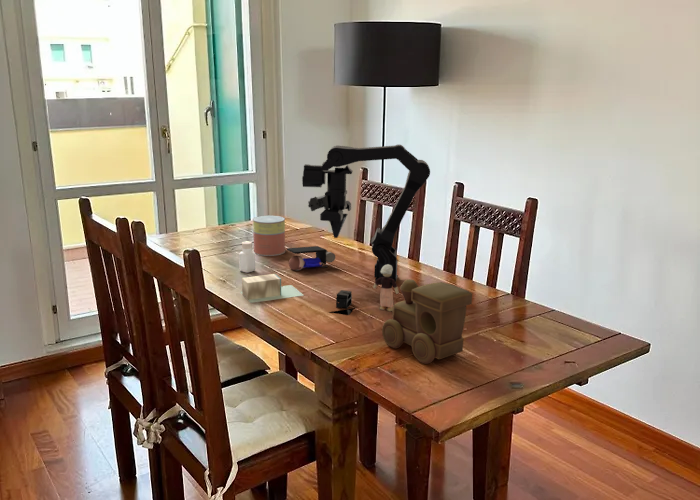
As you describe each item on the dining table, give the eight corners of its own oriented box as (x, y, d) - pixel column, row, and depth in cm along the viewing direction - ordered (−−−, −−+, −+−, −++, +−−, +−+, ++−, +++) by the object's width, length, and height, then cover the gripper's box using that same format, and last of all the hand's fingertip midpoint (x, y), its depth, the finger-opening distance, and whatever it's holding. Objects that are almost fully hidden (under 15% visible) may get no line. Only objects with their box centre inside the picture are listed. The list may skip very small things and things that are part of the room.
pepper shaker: (247, 273, 209) (246, 244, 206) (238, 271, 211) (237, 242, 208) (256, 270, 212) (255, 242, 209) (247, 268, 214) (246, 240, 211)
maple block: (275, 273, 191) (241, 277, 186) (281, 278, 186) (247, 283, 182) (275, 290, 192) (242, 294, 188) (281, 295, 188) (247, 299, 183)
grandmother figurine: (400, 308, 181) (402, 264, 178) (397, 312, 178) (399, 268, 174) (374, 304, 183) (375, 261, 180) (370, 308, 180) (371, 264, 177)
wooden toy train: (470, 359, 150) (476, 291, 145) (435, 372, 143) (439, 301, 138) (411, 332, 165) (414, 269, 160) (376, 342, 158) (378, 277, 154)
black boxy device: (349, 319, 174) (349, 302, 172) (322, 315, 176) (322, 298, 175) (363, 303, 186) (364, 287, 185) (338, 300, 188) (338, 283, 187)
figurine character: (324, 266, 223) (284, 268, 214) (326, 244, 221) (286, 245, 213) (334, 272, 217) (293, 273, 209) (336, 249, 215) (296, 250, 207)
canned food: (291, 250, 236) (291, 218, 233) (271, 257, 227) (271, 224, 223) (267, 245, 242) (266, 214, 238) (246, 252, 232) (246, 219, 229)
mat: (291, 286, 197) (291, 285, 197) (304, 296, 188) (304, 295, 188) (239, 293, 190) (239, 291, 190) (250, 304, 181) (250, 302, 181)
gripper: (317, 181, 209) (317, 229, 213) (303, 191, 191) (303, 243, 195) (351, 183, 207) (350, 231, 211) (340, 193, 189) (339, 245, 194)
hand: (335, 237), depth 203 cm, fingers closed
